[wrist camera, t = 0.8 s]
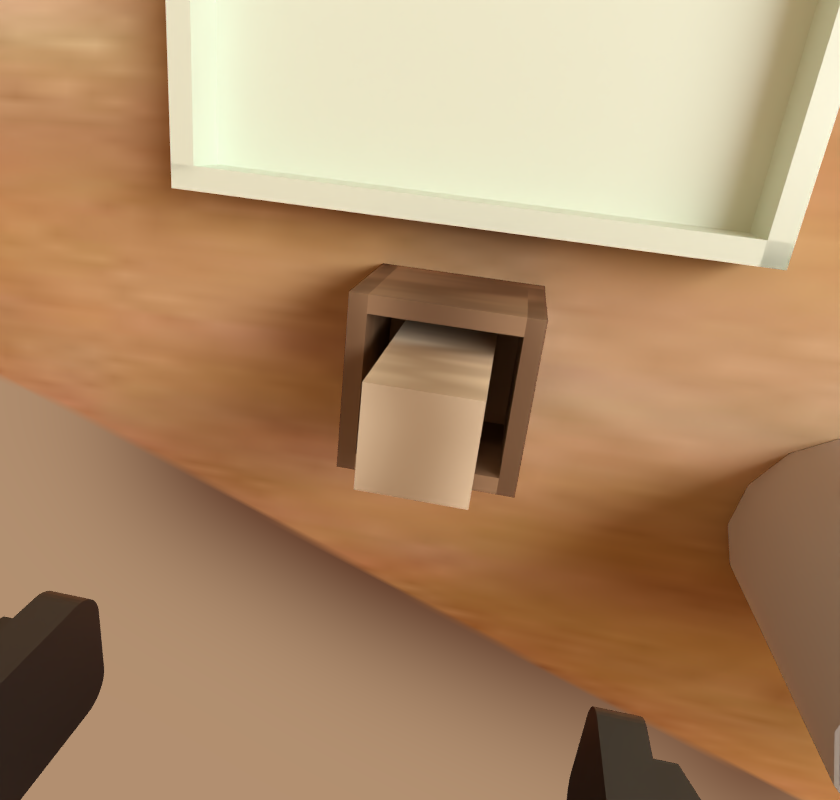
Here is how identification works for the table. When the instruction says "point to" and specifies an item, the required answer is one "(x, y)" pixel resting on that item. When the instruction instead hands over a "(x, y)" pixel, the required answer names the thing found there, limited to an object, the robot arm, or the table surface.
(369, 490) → the peg
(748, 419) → the table surface
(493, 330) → the open drawer box
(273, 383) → the table surface
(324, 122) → the tray
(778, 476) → the cup
